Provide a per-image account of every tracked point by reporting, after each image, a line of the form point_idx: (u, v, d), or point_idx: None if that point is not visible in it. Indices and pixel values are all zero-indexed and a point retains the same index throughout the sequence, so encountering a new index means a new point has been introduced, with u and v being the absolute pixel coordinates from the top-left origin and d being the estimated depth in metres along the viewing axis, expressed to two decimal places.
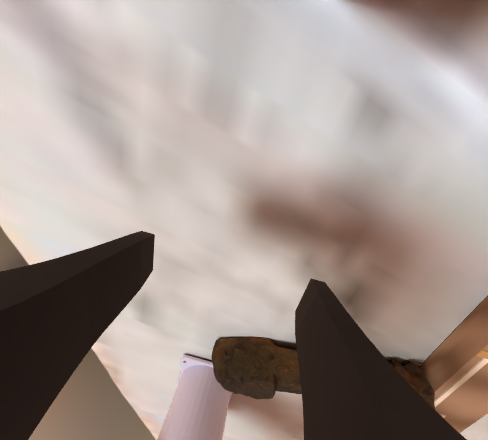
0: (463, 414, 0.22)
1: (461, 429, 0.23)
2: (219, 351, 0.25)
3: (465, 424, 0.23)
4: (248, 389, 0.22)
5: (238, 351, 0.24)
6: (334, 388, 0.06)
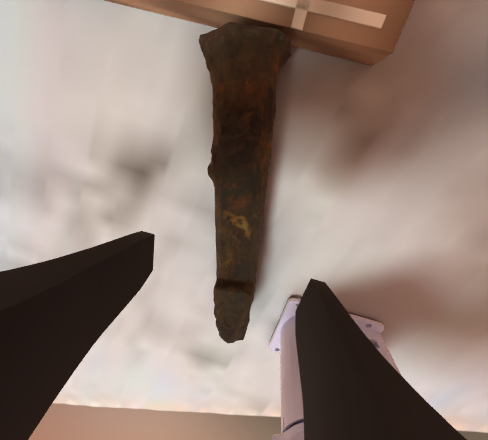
0: None
1: None
2: None
3: None
4: (230, 316, 0.16)
5: None
6: (334, 388, 0.06)
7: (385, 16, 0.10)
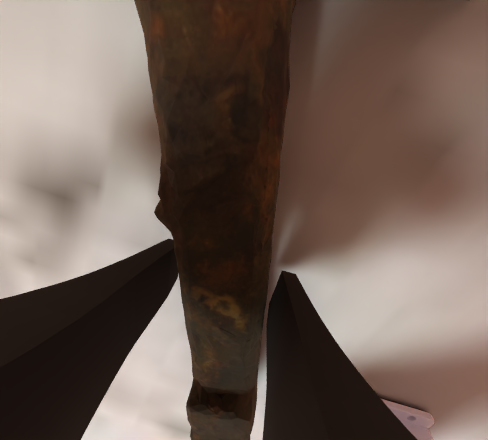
0: None
1: None
2: None
3: None
4: None
5: None
6: (288, 374, 0.06)
7: None
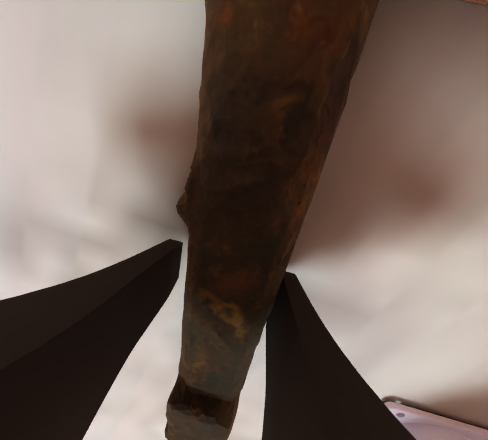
0: None
1: None
2: None
3: None
4: None
5: None
6: (287, 374, 0.06)
7: None
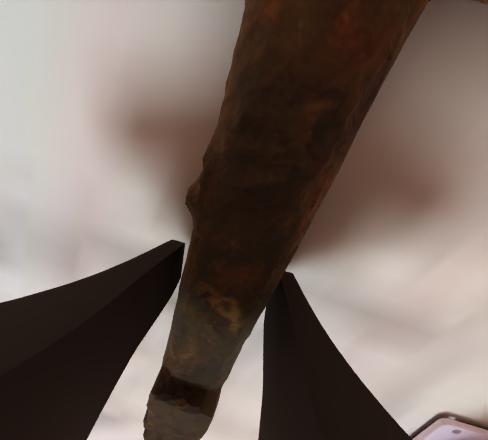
0: None
1: None
2: None
3: None
4: (168, 435, 0.10)
5: None
6: (283, 373, 0.06)
7: None
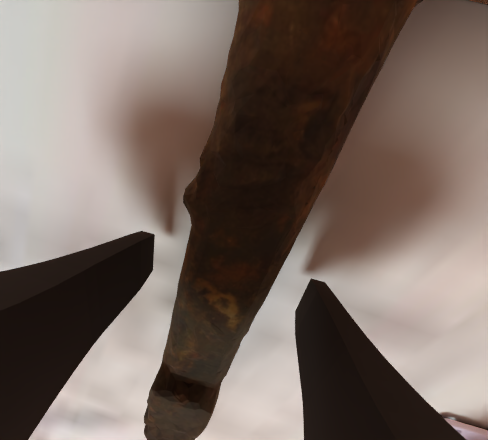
0: None
1: None
2: None
3: None
4: (169, 430, 0.10)
5: None
6: (334, 388, 0.06)
7: None
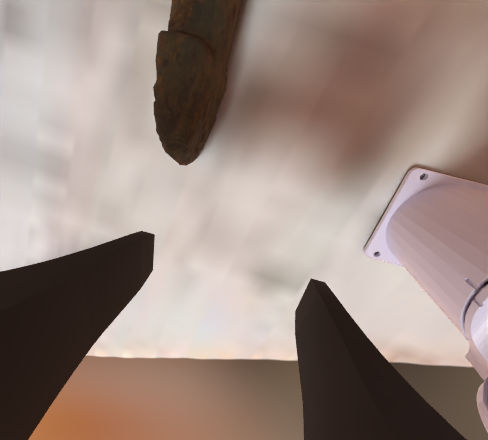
0: None
1: None
2: None
3: None
4: (174, 92, 0.12)
5: None
6: (334, 388, 0.06)
7: None
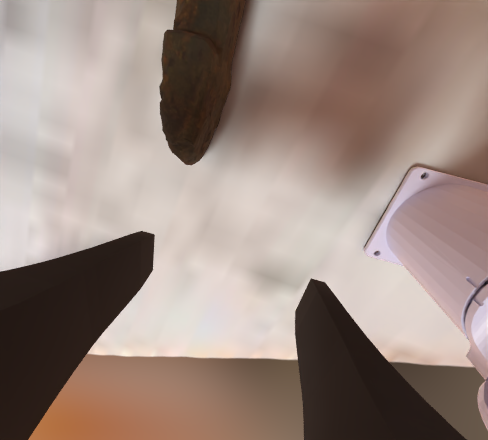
0: None
1: None
2: None
3: None
4: (180, 91, 0.12)
5: None
6: (334, 388, 0.06)
7: None
